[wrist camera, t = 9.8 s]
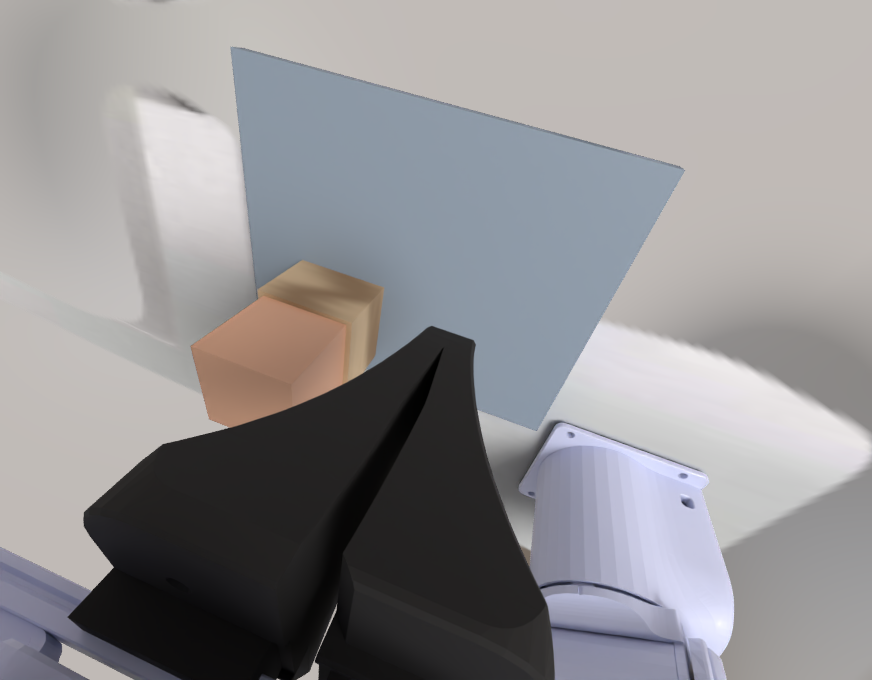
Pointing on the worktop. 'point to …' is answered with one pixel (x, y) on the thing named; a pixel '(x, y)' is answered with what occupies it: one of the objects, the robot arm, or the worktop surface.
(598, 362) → the worktop surface
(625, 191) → the board
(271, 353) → the terracotta block
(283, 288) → the oak base block
